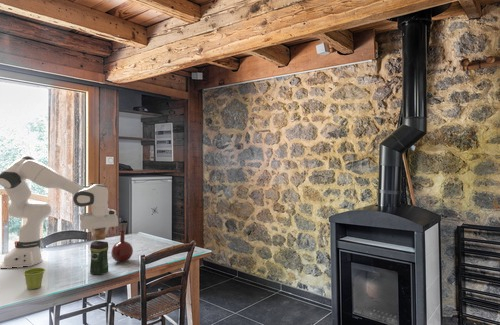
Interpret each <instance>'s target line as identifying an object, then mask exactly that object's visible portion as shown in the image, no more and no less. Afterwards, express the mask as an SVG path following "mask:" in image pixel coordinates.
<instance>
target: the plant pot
mask: <svg viewBox="0 0 500 325" xmlns="http://www.w3.org/2000/svg"><path fill="white" fill-rule="evenodd" d="M45 271H46V268H43V267H34V268H29V269H26V270H24V271H23V275H24V277H25V282H26V283H25V284H26V289H28V290H35V289H39V288H42V282H43V278H44V274H45Z"/></svg>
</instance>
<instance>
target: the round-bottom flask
mask: <svg viewBox="0 0 500 325" xmlns="http://www.w3.org/2000/svg"><path fill="white" fill-rule="evenodd" d="M125 232H126V230H120V231H119V234H120V235H119V236H120V237H119V241H118V242H116V243H115V244H114V245H113V246H112V248H111V250H110V251H111V258H112V259H113V260H114V261H116V262H117V263H126V262H128V261H129V260H130V259H131V257H132V256H133V253H134V248H133V246H132V243H130V242H128V241H125V236H126V234H125Z"/></svg>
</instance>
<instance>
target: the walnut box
mask: <svg viewBox="0 0 500 325" xmlns="http://www.w3.org/2000/svg"><path fill="white" fill-rule="evenodd" d="M105 231H106V227H104V228H94V229H93V233H95V236H93V239H94V241H102V240H106V235H105Z"/></svg>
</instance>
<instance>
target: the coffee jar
mask: <svg viewBox="0 0 500 325" xmlns="http://www.w3.org/2000/svg"><path fill="white" fill-rule="evenodd" d="M89 250H90V267H89V274H92V275H96V276H97V275H99V276H100V275H106V274H107V273H108V272H109V262H108V261H109V260H108V259H109V258H108V251H109V242H108V241H102V240H94V241H92V242H90V247H89Z"/></svg>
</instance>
